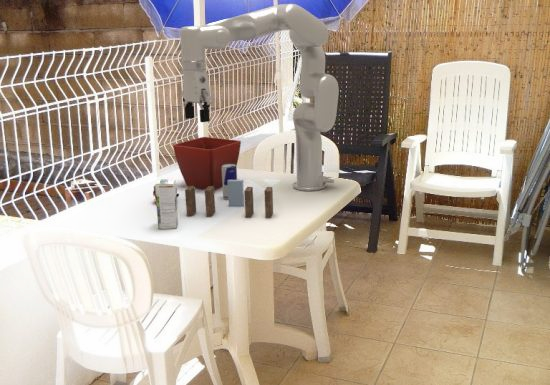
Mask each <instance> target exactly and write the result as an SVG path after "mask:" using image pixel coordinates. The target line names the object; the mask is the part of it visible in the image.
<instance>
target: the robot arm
mask: <svg viewBox="0 0 550 385" xmlns="http://www.w3.org/2000/svg"><path fill="white" fill-rule="evenodd" d="M282 31H289V32H288V34H289V35H288V36H289V38H290V41H291V43H292V44H293V45H295V47H296V48H297V49H298V51H299V54H300V56H301V67H300V78H299V92H300V95H301V96H302V97H304V98H306V99H308V100H314V103H313V102H302V103H299V104H298V105H296V107H294V108H295V109H294V111H293V113H292V121H293V124H294V125H293V127H294V130H295V146H296V147H295V148H296V150H295V151H296V152H295V154H296V155H295V156H296V181H294V182H293V183H292V188H293V189H295V190H299V191H304V192H305V191H307V192H311V191H320V190H323V189H325V188H326V187H327V183H329V184H334V183H335V178H334V177H331V176H325V175H324V173H323V153H322V152H323V150H322V149H323V148H322V147H323V139H322V134H321V133H326V132H329V131H330V130H332V128H333V127H334V125H335V122H336V119H337V113H338V112H337V111H338V105H339V104H338V102H339V95H340V94H339V91H340V89H339V84H338V80H337V79H336V77H335V76H334V75H331V74H329V73H326V71H325V70H326V53H325V50H324V47H323V46H324V45H325V44H326V43H327V42H328V40H329V36H330V33H329V32H330V31H329V28H328V26H327V25H326V24H325V23H324V22H323V21H322V20H321V19H319V18H318V17H316V16H315V15H314V14H312V13H311V12H309V11H308V10H306V9H305V8H303V7H302V6H300V5H298V4H296V3H282V4H276V5H272V6H269V7H266V8H262V9H258V10H254V11H251V12H248V13H243V14H240V15H239V14H238V15H237V16H233V17H230V18H225V19H221V20H218V21H214V22H210V23H207V24H204V25H201V26H198V25H197V26H195V25H193V26H191V25H190V26H189V25H188V26H187V25H186V26H183V27H181V28H180V30H179V33H180V34H179V37H180V51H181V66H182V67H181V68H182V69H181V70H182V92H181V98H182V102H183V106H184V118H185V120H189V119H190V120H191V119H195V106H194V104H198V106H199V108H200V109H199V120H200V123H207V122H210V121H211V117H210V109H211V103H212V102H211V101H212V95H211V89H210V80H209V75H208V71H207V61H206V60H207V59H206V50H222V49H224V48H227V46H228V45H229V44H230V43H232V42H237V41H239V42H240V41H251V40H255V39H259V38H262V37H264V36H268V35H272V34H274V33H278V32H282Z"/></svg>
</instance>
